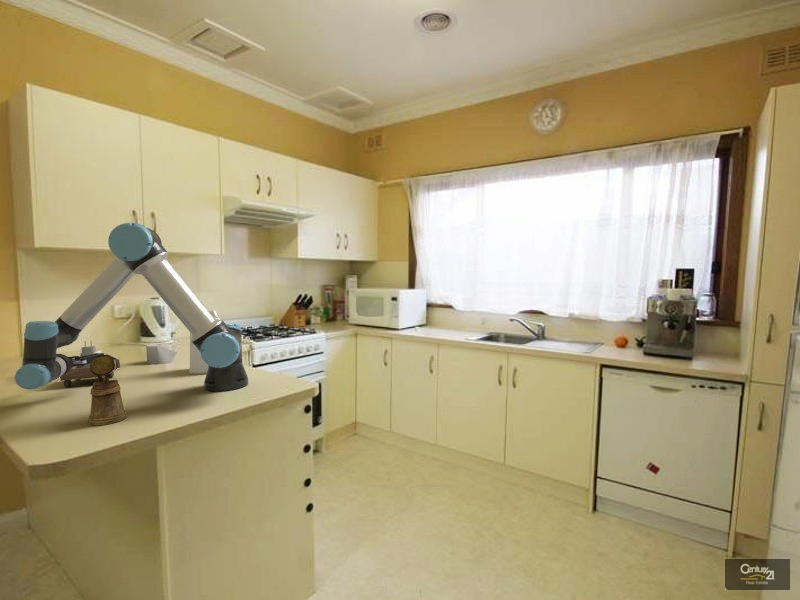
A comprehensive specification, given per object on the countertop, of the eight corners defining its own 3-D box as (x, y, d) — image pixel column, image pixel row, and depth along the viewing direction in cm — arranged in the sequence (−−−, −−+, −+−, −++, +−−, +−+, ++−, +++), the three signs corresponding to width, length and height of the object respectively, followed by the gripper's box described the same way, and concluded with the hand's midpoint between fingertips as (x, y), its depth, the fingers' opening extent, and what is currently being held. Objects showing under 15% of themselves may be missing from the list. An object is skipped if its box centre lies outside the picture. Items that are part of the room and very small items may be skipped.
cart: (105, 384, 159) (104, 366, 159) (61, 388, 154) (59, 370, 154) (116, 376, 172) (115, 359, 172) (76, 379, 167) (74, 362, 167)
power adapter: (81, 371, 163) (79, 340, 162) (98, 369, 166) (96, 339, 165) (81, 372, 160) (79, 341, 159) (98, 370, 163) (96, 340, 163)
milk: (230, 367, 186) (227, 309, 184) (216, 373, 174) (213, 311, 173) (205, 367, 187) (202, 309, 185) (189, 373, 175) (186, 312, 174)
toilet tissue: (174, 363, 197) (174, 345, 196) (143, 365, 194) (142, 346, 193) (180, 359, 205) (179, 342, 205) (150, 361, 202) (149, 343, 202)
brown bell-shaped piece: (122, 409, 129) (119, 351, 128) (128, 420, 119) (125, 358, 118) (87, 415, 123) (83, 356, 122) (90, 428, 113) (85, 363, 112)
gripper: (5, 382, 130) (38, 368, 150) (99, 374, 138) (119, 362, 158) (3, 358, 129) (36, 347, 149) (98, 352, 137) (117, 342, 157)
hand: (79, 355), depth 153 cm, fingers open, 13 cm apart
